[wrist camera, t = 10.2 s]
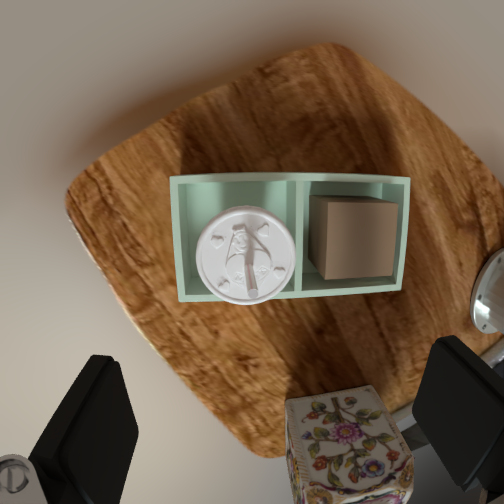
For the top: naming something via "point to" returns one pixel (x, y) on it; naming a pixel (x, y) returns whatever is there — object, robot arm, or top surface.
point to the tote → (293, 216)
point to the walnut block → (351, 236)
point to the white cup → (245, 255)
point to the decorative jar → (346, 450)
